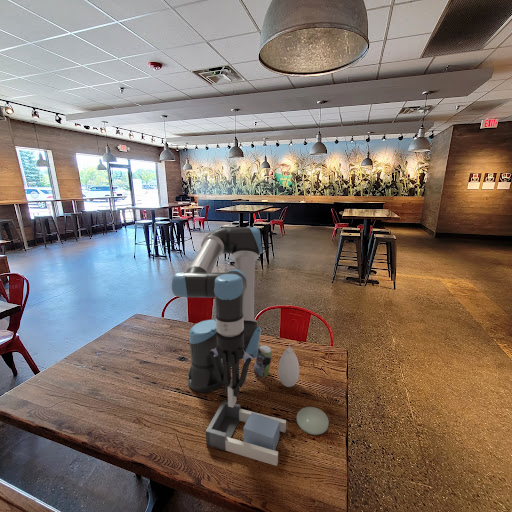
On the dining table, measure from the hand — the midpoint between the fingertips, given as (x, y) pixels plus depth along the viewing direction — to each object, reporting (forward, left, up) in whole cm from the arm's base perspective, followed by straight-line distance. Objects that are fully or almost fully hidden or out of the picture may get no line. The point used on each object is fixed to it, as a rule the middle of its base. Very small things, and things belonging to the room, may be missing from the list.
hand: (232, 403), depth 79 cm
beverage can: (+1, +29, -11) cm, 31 cm away
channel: (+7, 0, -11) cm, 13 cm away
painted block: (+9, 0, -11) cm, 14 cm away
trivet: (+22, +12, -11) cm, 28 cm away
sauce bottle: (+12, +26, -11) cm, 31 cm away
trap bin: (-3, 0, -11) cm, 11 cm away
